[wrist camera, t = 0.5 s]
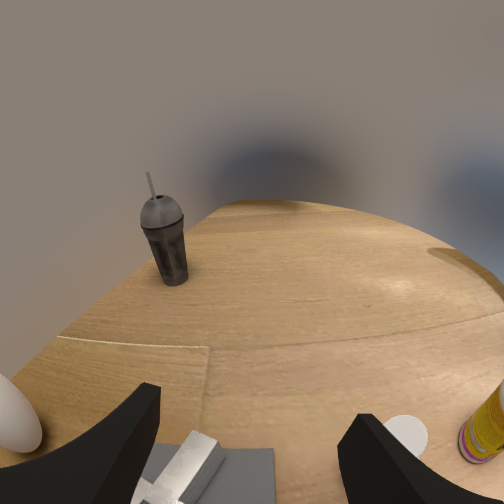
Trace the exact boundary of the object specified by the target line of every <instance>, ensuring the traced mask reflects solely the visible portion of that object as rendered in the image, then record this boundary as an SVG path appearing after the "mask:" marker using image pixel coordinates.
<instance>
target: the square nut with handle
mask: <svg viewBox="0 0 504 504" xmlns="http://www.w3.org/2000/svg"><path fill="white" fill-rule="evenodd" d="M225 457H226V456H225V454H224V452H223V450H222V448H221V446H220V444H219V442H218V441H217V440H215V439H213V438H210V437H208V436H206V435H204V434H202V433H200V432H198V431H196V430H194V429H193V430H192V432H191V433H190V435H189V436H188V437H187V439H186V440H185V442H184V443H183V444H182V446H181V447H180V449H179V450H178V451H177V453H176V454H175V455H174V457H173V458H172V460H171V461H170V462H169V464H168V465H167V466H166V468H165V469H164V470H163V472H162V473H161V474H160V476H159V477H158V478H157V480H156V481H155V482H154V484H151V483H150V482H148V481H147V480H145V479H143V478H142V477H140V479H139V482H138V484H137V487H136V489H135V492H134V495H133V497H132V501H131V504H195V503H196V501H197V500H198V498H199V497H200V495H201V494H202V492H203V491H204V489H205V488H206V487H207V485H208V483H209V482H210V480H211V479H212V477H213V476H214V474H215V473H216V471H217V470H218V468H219V467H220V465H221V463H222V462H223V460H224V459H225Z"/></svg>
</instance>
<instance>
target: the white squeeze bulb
mask: <svg viewBox="0 0 504 504" xmlns="http://www.w3.org/2000/svg"><path fill="white" fill-rule="evenodd" d="M41 440H42V428H41V425H40V422H39V419H38V417H37V414H36V412H35V411H34V409H33V407H32V406H31V404H30V403H29V401H28V400H27V399H26V397H25V396H24V395H23V394H22V393H21V392H20V391H19V390H18V389H17V388H16V387H15V386H14V385H13V384H12V383H11V382H10V381H9V380H8V379H6V378H5V377H4V376H3V375H1V374H0V446H2V447H4V448H6V449H9V450H11V451H15V452H22V453H27V452H32V451H34V450H35V449H37V448H38V446H39V445H40V443H41Z"/></svg>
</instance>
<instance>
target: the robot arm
mask: <svg viewBox="0 0 504 504" xmlns="http://www.w3.org/2000/svg"><path fill="white" fill-rule="evenodd" d="M160 396H161V387H159V386H155V385H152V384H148V383H145V382H144V383H142V384H140V385H139V387H138V388H137V389H136V390H135V391H134V392H133V393H132V394H131V395H130V396H129V397H128V398H127V399H126V400H125V401H124V402H122V403H121V404H120V405H119V406H118V407H117V408H116V409H115V410H113V411H112V412H111V413H110V414H109V415H108V416H106V417H105V418H104V419H103V420H102V421H100V422H99V423H97V424H96V425H95V426H93V427H92V428H91V429H89V430H88V431H87V432H85V433H84V434H82V435H81V436H79V437H77V438H76V439H74V440H73V441H71V442H69V443H67V444H66V445H64V446H62V447H60V448H58V449H56V450H54V451H52V452H50V453H47V454H45V455H43V456H40V457H38V458H35V459H32V460H29V461H26V462H23V463H20V464H17V465H13V466H9V467H4V468H0V504H131V501H132V497H133V495H134V492H135V489H136V487H137V484H138V482H139V479H140V477H141V475H142V472H143V470H144V467H145V465H146V463H147V460H148V458H149V455H150V453H151V450H152V448H153V445H154V442H155V438H156V435H157V431H158V427H159V424H160ZM337 448H338V459H339V467H340V471H341V475H342V479H343V483H344V487H345V491H346V494H347V498H348V502H349V504H504V502H503V501H501V500H496V499H492V498H488V497H484V496H481V495H478V494H475V493H473V492H470V491H468V490H465V489H463V488H461V487H459V486H457V485H455V484H453V483H451V482H450V481H448V480H446V479H445V478H443V477H442V476H440V475H439V474H437V473H436V472H434V471H433V470H431V469H430V468H429V467H427V466H426V465H425V464H424V463H423V462H421V461H420V460H419V459H418V458H417V457H415V456H414V455H413V454H412V453H411V452H410V451H409V450H408V449H407V448H406V447H405V446H404V445H403V444H402V443H401V442H400V441H399V440H398V439H397V438H396V437H395V436H394V435H393V434H392V433H391V432H390V431H389V430H388V429H387V428H386V427H385V426H384V425H383V424H382V423H381V422H380V421H379V420H378V419H377V418H376V417H375V416H374V415H372V414H358V415H357V416H356V418H355V419H354V421H353V423H352V424H351V426H350V427H349V429H348V430H347V432H346V433H345V435H344V436H343V438H342V439H341V441H340V442H339V444H338V445H337Z"/></svg>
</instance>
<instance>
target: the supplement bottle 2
mask: <svg viewBox="0 0 504 504" xmlns="http://www.w3.org/2000/svg"><path fill="white" fill-rule="evenodd" d="M459 446H460V450H461V452H462V454H463V455H464V457H465V458H466V459H467V460H469V461H471V462H473V463H485V462H487V461H489V460H491V459H492V458H494V457H495V456H497V455H498V454H499V453H501V452H502V451H503V450H504V380H503V381H502V382H501V383H500V385H499V386H498V387H497V388H496V390H495V391H494V392H493V393H492V394H491V395H490V397H489V398H488V399H487V400H486V401H485V402H484V403H483V404H482V405H481V407H480V408H479V409H478V410H477V411H476V412H475V413H474V414H473V415H472V416H471V417H470V418H469V419H468V420H467V421H466V422H465V424H464V425H463V427H462V429H461V432H460V435H459Z"/></svg>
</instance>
